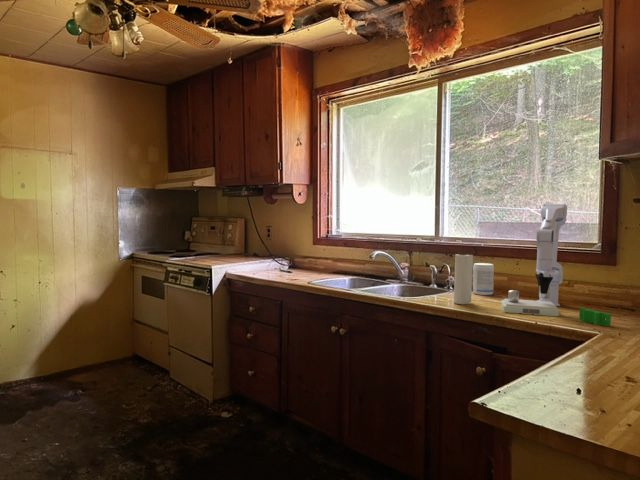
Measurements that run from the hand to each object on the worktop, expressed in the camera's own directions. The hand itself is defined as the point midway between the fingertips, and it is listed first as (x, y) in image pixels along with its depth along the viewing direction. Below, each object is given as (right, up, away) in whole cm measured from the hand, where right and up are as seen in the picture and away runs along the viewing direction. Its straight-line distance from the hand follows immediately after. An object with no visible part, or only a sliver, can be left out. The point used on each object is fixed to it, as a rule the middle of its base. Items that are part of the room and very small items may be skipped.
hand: (543, 292), depth 189 cm
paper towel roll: (-28, -7, +15) cm, 32 cm away
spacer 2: (+1, -2, 0) cm, 2 cm away
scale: (-5, -8, +2) cm, 9 cm away
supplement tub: (-10, -5, +41) cm, 42 cm away
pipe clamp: (+10, -9, -18) cm, 22 cm away
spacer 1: (-11, -4, +4) cm, 12 cm away
